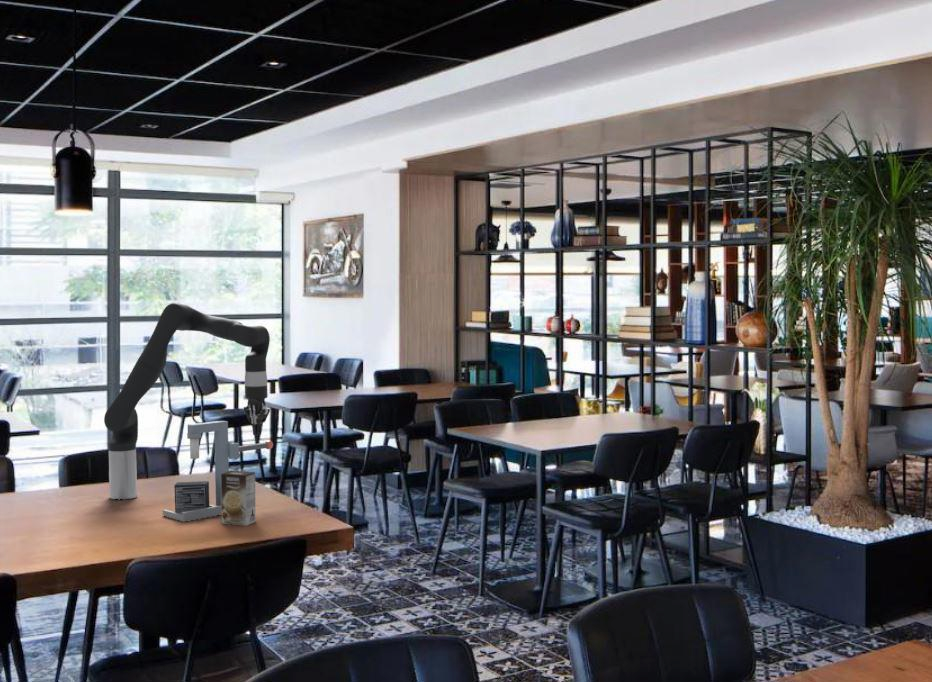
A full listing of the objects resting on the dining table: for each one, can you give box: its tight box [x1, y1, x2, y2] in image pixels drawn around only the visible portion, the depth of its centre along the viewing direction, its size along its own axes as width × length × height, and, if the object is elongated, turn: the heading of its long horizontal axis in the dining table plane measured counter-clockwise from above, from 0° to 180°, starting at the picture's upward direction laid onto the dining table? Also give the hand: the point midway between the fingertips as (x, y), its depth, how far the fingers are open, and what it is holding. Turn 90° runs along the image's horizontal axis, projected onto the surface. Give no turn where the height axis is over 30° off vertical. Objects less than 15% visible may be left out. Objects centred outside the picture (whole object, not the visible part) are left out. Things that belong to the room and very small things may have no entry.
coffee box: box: [221, 469, 257, 527], centre depth 322 cm, size 9×6×16 cm
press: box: [162, 420, 240, 523], centre depth 336 cm, size 13×23×30 cm, turn 135°
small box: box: [173, 480, 210, 514], centre depth 336 cm, size 11×6×10 cm, turn 97°
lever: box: [228, 440, 274, 454], centre depth 347 cm, size 3×18×3 cm, turn 135°
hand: (257, 434), depth 349 cm, fingers closed
